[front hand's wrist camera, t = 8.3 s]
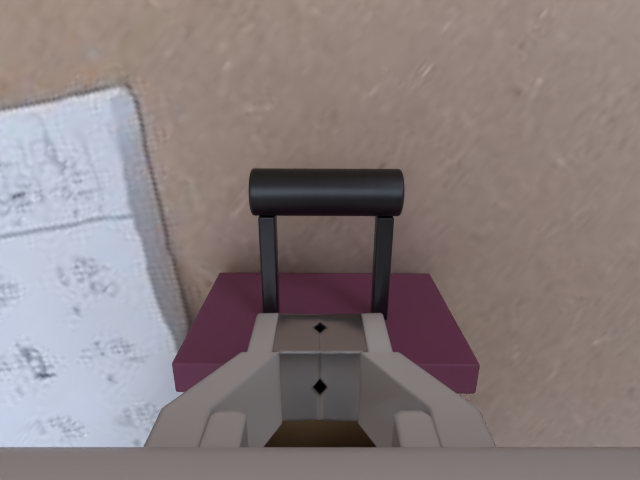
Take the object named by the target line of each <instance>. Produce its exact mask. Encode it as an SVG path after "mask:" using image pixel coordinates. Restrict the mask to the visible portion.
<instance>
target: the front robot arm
mask: <svg viewBox="0 0 640 480" xmlns="http://www.w3.org/2000/svg"><path fill="white" fill-rule="evenodd" d="M311 420H328V421H358V424H359V425H360V426H361V428H362V429H363V430H364V431H365V433H366V434H367V435H368V436H369V438H370V439H371V440H372V442H373V443H374V444H375V445H376V447H264V446H265V444H266V443H267V442H268V441H269V439H270V438H271V437H272V436H273V434H274V433H275V432H276V431H277V429H278V428H279V427H280V426H281V424H282V421H311ZM0 480H640V447H496V445H495V443H494V441H493V439H492V436H491V434H490V432H489V430H488V428H487V426H486V424H485V422H484V419H483V417H482V415H481V413H480V411H479V409H478V408H476V407H475V406H474V405H472V404H471V403H469V402H468V401H467V400H465V399H464V398H462V397H461V396H460V395H458V394H457V393H455V392H454V391H453V390H451V389H450V388H448V387H447V386H446V385H444V384H443V383H441V382H440V381H439V380H437V379H436V378H434V377H433V376H432V375H430V374H429V373H427V372H426V371H425V370H423V369H422V368H420V367H419V366H418V365H416V364H415V363H413V362H412V361H411V360H409V359H408V358H406V357H405V356H403V355H402V354H401V353H399V352H393V351H392V347H391V343H390V340H389V336H388V332H387V328H386V324H385V321H384V317H383V314H382V313H363V314H361V313H360V314H292V313H280V314H279V313H259V314H258V315H257V317H256V320H255V324H254V328H253V332H252V336H251V339H250V343H249V347H248V351H247V352H241V353H239V354H238V355H237V356H235V357H234V358H232V359H231V360H229V361H228V362H227V363H225V364H224V365H222V366H221V367H220V368H218V369H217V370H215V371H214V372H213V373H211V374H210V375H208V376H207V377H206V378H204V379H203V380H201V381H200V382H199V383H197V384H196V385H194V386H193V387H191V388H190V389H189V390H187V391H186V392H184V393H183V394H182V395H180V396H179V397H177V398H176V399H175V400H173V401H172V402H170V403H169V404H168V405H166V406H165V407H163V408H162V409H161V411H160V414H159V416H158V418H157V420H156V422H155V424H154V426H153V428H152V430H151V432H150V435H149V437H148V439H147V441H146V443H145V445H144V447H0Z"/></svg>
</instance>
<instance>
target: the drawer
mask: <svg viewBox="0 0 640 480" xmlns="http://www.w3.org/2000/svg"><path fill="white" fill-rule="evenodd" d="M403 203H404V178H403V174H402V171H401V170H400V169H252V170H251V173H250V177H249V204H250V209H251V212H252V214H253V215H259V218H258V223H259V243H260V263H261V273H219V275H218V277H217V279H216V281H215V283H214V285H213V287H212V289H211V291H210V292H209V294H208V296H207V298H206V300H205V302H204V304H203V306H202V308H201V310H200V311H199V313H198V315H197V317H196V319H195V321H194V323H193V325H192V327H191V329H190V330H189V332H188V334H187V336H186V338H185V340H184V342H183V344H182V346H181V348H180V349H179V351H178V353H177V355H176V357H175V359H174V361H173V363H172V366H173V373H174V380H175V387H176V391H177V392H186V391H187V390H189V389H190V388H191V387H193V386H194V385H196V384H197V383H199V382H200V381H201V380H203V379H204V378H206V377H207V376H208V375H210V374H211V373H213V372H214V371H215V370H217V369H218V368H220V367H221V366H222V365H224V364H225V363H227V362H228V361H229V360H231V359H232V358H234V357H235V356H237V355H238V354H239V353H241V352H247V351H248V347H249V343H250V339H251V336H252V332H253V328H254V324H255V320H256V317H257V315H258V314H259V313H279V314H280V313H292V314H360V313H361V314H363V313H382V314H383V317H384V321H385V324H386V328H387V332H388V336H389V340H390V343H391V347H392V351H393V352H399V353H401V354H402V355H403V356H405V357H406V358H408V359H409V360H411V361H412V362H413V363H415V364H416V365H418V366H419V367H420V368H422V369H423V370H425V371H426V372H427V373H429V374H430V375H432V376H433V377H434V378H436V379H437V380H439V381H440V382H441V383H443V384H444V385H446V386H447V387H448V388H450V389H451V390H453V391H454V392H455V393H475V391H476V385H477V379H478V373H479V366H480V365H479V363H478V361H477V359H476V357H475V356H474V354H473V352H472V350H471V348H470V347H469V345H468V343H467V341H466V339H465V338H464V336H463V334H462V332H461V330H460V328H459V327H458V325H457V323H456V321H455V319H454V318H453V316H452V314H451V312H450V310H449V309H448V307H447V305H446V303H445V301H444V300H443V298H442V296H441V294H440V292H439V290H438V289H437V287H436V285H435V283H434V281H433V280H432V278H431V276H430V274H390V270H391V255H392V240H393V225H394V218H393V216H399V215H400V214H401V212H402V209H403ZM277 216H375V234H374V253H373V273H278V245H277ZM264 447H376V445H375V444H374V443H373V442H372V440H371V439H370V438H369V436H368V435H367V434H366V433H365V431H364V430H363V429H362V428H361V426H360V425H359V424H358V421H328V420H311V421H282V424H281V426H280V427H279V428H278V429H277V431H276V432H275V433H274V434H273V436H272V437H271V438H270V439H269V441H268V442H267V443H266V444H265V446H264Z"/></svg>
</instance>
